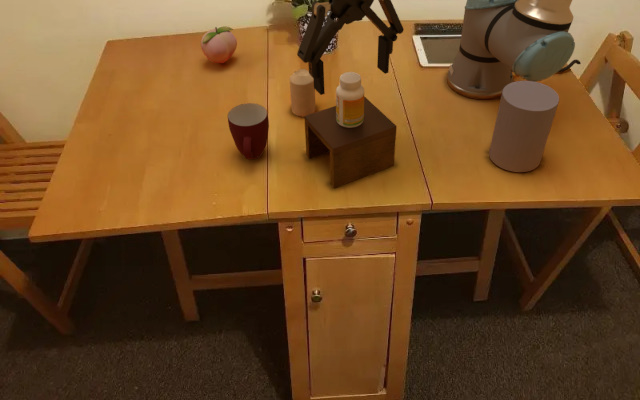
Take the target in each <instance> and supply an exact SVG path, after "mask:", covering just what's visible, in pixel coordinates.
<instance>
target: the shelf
mask: <svg viewBox="0 0 640 400" xmlns="http://www.w3.org/2000/svg"><path fill="white" fill-rule="evenodd" d="M303 119H304V120H303V121H304V136H305V137H304V138H305V153H306V154H305V155H306V157H307V158H308V159H309V160H311V159H313V158H316V157H319V156H322V155H325V154H327V153H329V184H330V186H331V187H332V189H336V188H339V187H341V186H342V187H343V186H344V185H347V184H350V183H352V182H354V181H358V180H359V179H363V178H365V177H368V176H370V175H373V174H376V173H378V172H382V171H384V170H386V169H389V168H391V167H394V166H395V153H396V140H397V130H398V129H397V125H396V124H395V123H394V122H393V121H392V120H391V119H390V118H389V117H388V116H387V115H386V114H384V113H383V112H382V111H381V110H380V109H379V108H378V107H377V106H376V105H375V104H374V103H372V102H371V101H370V100H369V99H368V98H367V97H366V96H365V95H364V120H363V122H362V124H361V125H359V126H357V127H353V128H347V127H343V126H341V125H339V124H338V123H337V120H336V105H334V106H330V107H328V108H324V109H321V110H319V111H315V112H314V113H312V114H309V115H306V116H304V118H303Z"/></svg>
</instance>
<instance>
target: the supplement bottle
mask: <svg viewBox="0 0 640 400" xmlns="http://www.w3.org/2000/svg"><path fill="white" fill-rule="evenodd" d="M338 83H339V84H338V85H337V87H336V89H335V106H336V120H337V123H338V124H339V125H341V126H343V127H347V128H353V127H357V126H359V125H361V124H362V122H363V120H364V96H365V88H364V85H362V76H361V75H360V74H359V72H355V71H347V72H343V73H341V74H340V76H339V81H338Z"/></svg>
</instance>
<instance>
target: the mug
mask: <svg viewBox="0 0 640 400" xmlns="http://www.w3.org/2000/svg"><path fill="white" fill-rule="evenodd" d="M268 113H269V112H268V110H267V108H266V107H264V106H263V105H262V104H258V103H252V102H247V103H242V104H238V105H236V106H233V107H232V108H231V109H230V110H229V111H228V113H227V124H228V127H229V128H228V129H229V131H230V134H231V137H232V139H233V142H234V145H235V147H236V149H237V150H238V151H239V153H240V154H241V155H242V156H243V157H244V158H245V159H247V160H256V159H258V158H261V156H262V155H263V153H264V152H265V149H266V148H267V144H268V137H269V126H270V124H269V114H268Z"/></svg>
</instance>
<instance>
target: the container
mask: <svg viewBox="0 0 640 400" xmlns="http://www.w3.org/2000/svg"><path fill="white" fill-rule="evenodd" d="M559 103H560V96H559V94H558V92H557V91H556V90H555V89H554V88H553V87H551V86H549V85H546V84H544V83H542V82H539V81H537V82H534V81H528V80H517V81H513V82H512V83H510V84H508V85H506V86H505V87H504V89H503V92H502V96H501V97H500V101H499V105H498V110H497V113H496V119H495V123H494V127H493V132H492V135H491V136H492V137H491V142H490V145H489V150H488V156H489V159H490V160H491V162H492V163H493V164H495V165H496V166H497V167H499V168H501V169H503V170H506V171H508V172H513V173H526V172H532V171H533V170H535V169H537V168H538V167H539V166H540V163H541V162H542V158H543V155H544V151H545V148H546V145H547V142H548V139H549V135H550V132H551V128H552V125H553V123H554V118H555V116H556V112H557V109H558V106H559Z"/></svg>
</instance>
